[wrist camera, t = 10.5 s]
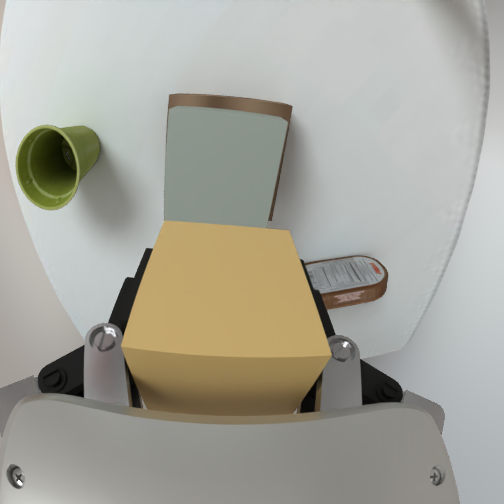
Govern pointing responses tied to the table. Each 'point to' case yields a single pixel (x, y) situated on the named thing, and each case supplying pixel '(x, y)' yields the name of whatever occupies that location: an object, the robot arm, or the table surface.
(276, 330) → the ochre block
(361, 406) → the robot arm
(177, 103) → the tower base
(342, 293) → the tin
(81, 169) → the plant pot
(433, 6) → the table surface
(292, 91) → the table surface
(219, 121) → the tower top
